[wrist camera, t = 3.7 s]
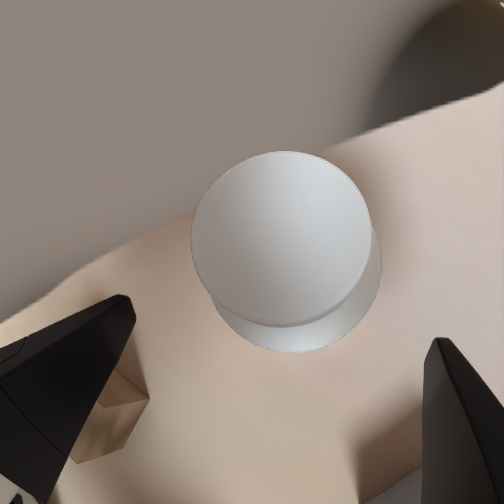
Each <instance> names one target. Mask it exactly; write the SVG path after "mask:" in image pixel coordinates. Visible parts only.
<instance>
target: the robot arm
mask: <svg viewBox="0 0 504 504" xmlns="http://www.w3.org/2000/svg"><path fill="white" fill-rule="evenodd" d="M135 323H136V314H135V311H134V308H133V305H132V302H131V299H130V298H129V297H128V296H125V295H121V294H117V295H114V296H112V297H110V298H108V299H106V300H103V301H101V302H99V303H97V304H95V305H93V306H90V307H88V308H86V309H84V310H82V311H80V312H77V313H75V314H73V315H71V316H69V317H67V318H65V319H62V320H60V321H58V322H56V323H54V324H52V325H50V326H48V327H45V328H43V329H41V330H39V331H37V332H35V333H33V334H31V335H29V336H28V337H27V336H26V337H24V338H22V339H20V340H18V341H16V342H13V343H11V344H9V345H7V346H5V347H2V348H0V504H23V499H22V496H21V495H20V494H19V493H18V491H19V489H20V488H21V489H22V490H24V491H25V492H27V493H29V494H30V495H32V496H33V497H35V498H36V499H38V500H40V501H41V502H43V503H45V504H46V503H47V502H48V500H49V498H50V495H51V493H52V491H53V489H54V487H55V484H56V482H57V480H58V478H59V476H60V474H61V471H62V469H63V467H64V465H65V463H66V461H67V458H68V456H69V454H70V452H71V450H72V448H73V446H74V444H75V442H76V440H77V438H78V436H79V434H80V432H81V430H82V428H83V426H84V424H85V422H86V420H87V419H88V417H89V415H90V413H91V411H92V409H93V407H94V405H95V403H96V401H97V400H98V398H99V396H100V394H101V392H102V390H103V388H104V387H105V385H106V383H107V381H108V379H109V377H110V376H111V374H112V372H113V370H114V368H115V367H116V365H117V363H118V361H119V359H120V357H121V354H122V352H123V350H124V348H125V345H126V343H127V341H128V339H129V336H130V334H131V332H132V330H133V327H134V325H135ZM422 443H423V455H422V487H421V503H420V504H504V407H503V406H502V405H501V403H500V402H499V400H498V399H497V398H496V396H495V395H494V394H493V392H492V391H491V390H490V388H489V387H488V386H487V384H486V383H485V382H484V381H483V379H482V378H481V377H480V375H479V374H478V373H477V372H476V370H475V369H474V368H473V367H472V365H471V364H470V363H469V362H468V360H467V359H466V358H465V357H464V355H463V354H462V353H461V352H460V351H459V349H458V348H457V347H456V346H455V345H454V343H453V342H452V341H451V340H450V339H449V338H444V337H436V338H435V339H434V340H433V342H432V344H431V346H430V349H429V351H428V353H427V356H426V358H425V362H424V383H423V404H422Z"/></svg>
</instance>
